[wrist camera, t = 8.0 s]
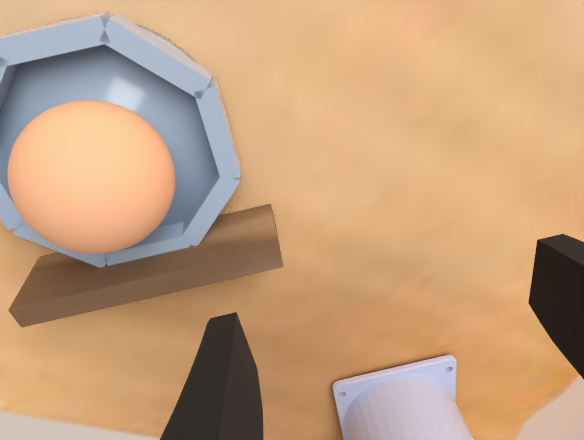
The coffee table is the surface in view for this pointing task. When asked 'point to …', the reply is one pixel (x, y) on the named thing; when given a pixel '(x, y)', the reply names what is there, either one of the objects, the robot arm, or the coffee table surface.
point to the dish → (131, 95)
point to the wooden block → (150, 270)
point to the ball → (91, 177)
